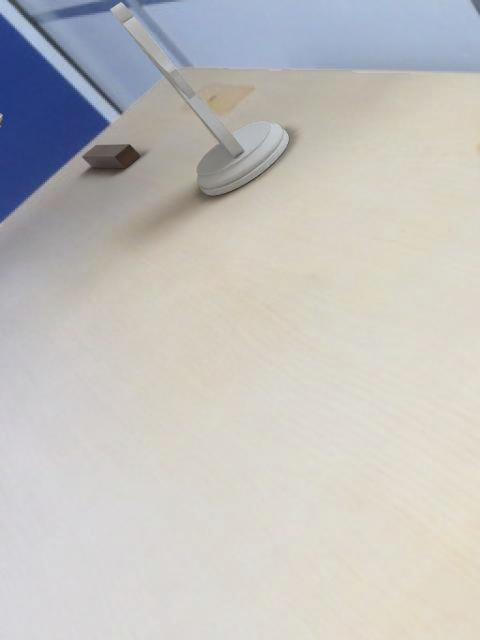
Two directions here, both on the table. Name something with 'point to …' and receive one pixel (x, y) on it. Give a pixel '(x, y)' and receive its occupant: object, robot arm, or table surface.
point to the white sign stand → (214, 125)
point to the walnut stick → (111, 156)
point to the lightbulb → (1, 119)
